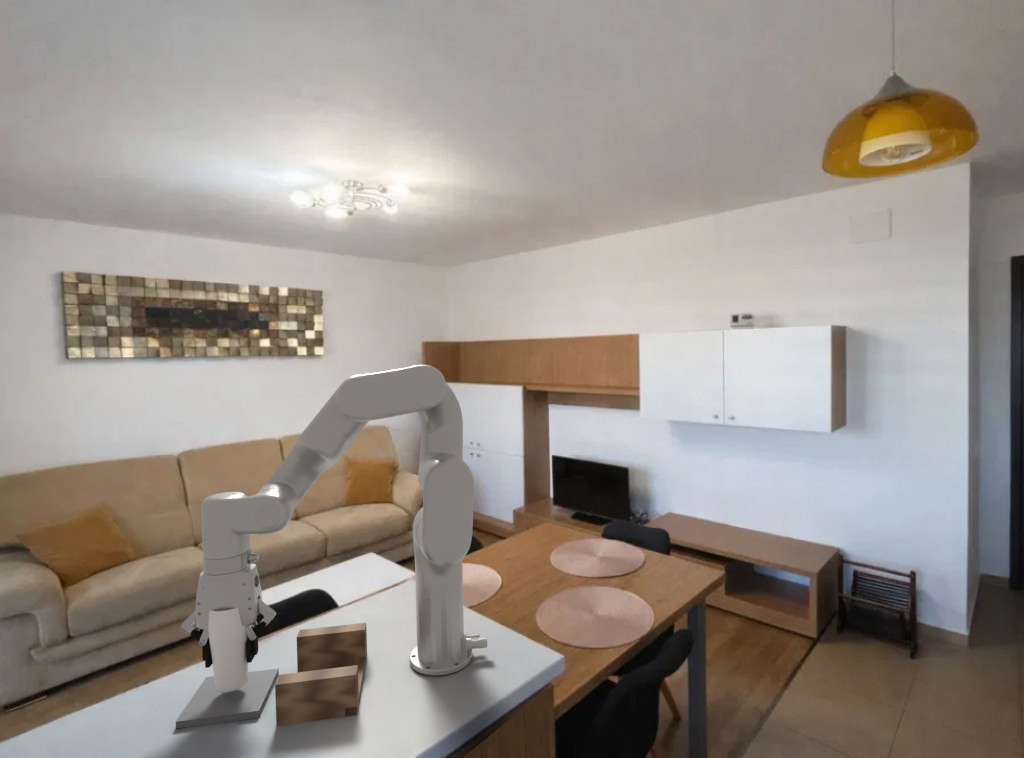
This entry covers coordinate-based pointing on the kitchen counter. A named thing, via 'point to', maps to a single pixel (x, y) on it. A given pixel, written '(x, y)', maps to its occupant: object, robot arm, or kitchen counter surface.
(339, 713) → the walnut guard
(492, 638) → the kitchen counter surface
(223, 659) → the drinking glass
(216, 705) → the slate board
